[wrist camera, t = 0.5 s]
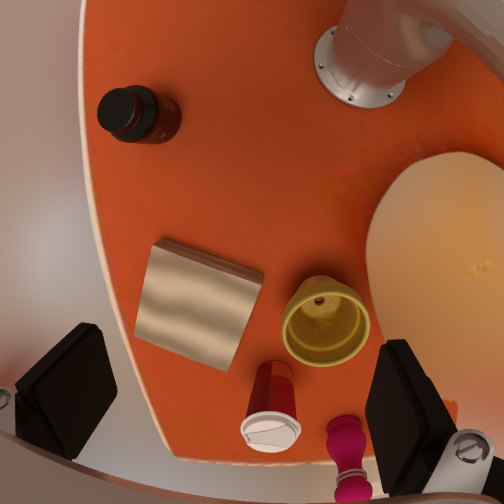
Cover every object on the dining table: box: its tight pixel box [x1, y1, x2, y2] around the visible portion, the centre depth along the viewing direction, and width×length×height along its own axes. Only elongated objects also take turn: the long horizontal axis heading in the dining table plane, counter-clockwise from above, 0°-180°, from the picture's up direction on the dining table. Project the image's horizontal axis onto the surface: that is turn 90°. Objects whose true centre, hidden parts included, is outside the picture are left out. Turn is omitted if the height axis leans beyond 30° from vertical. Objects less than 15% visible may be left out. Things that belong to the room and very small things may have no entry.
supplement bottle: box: [97, 85, 181, 144], centre depth 33 cm, size 7×7×12 cm
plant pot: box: [282, 275, 370, 367], centre depth 39 cm, size 10×10×10 cm
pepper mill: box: [326, 416, 373, 502], centre depth 41 cm, size 7×7×20 cm
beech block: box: [134, 238, 264, 372], centre depth 44 cm, size 15×15×4 cm
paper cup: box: [241, 360, 301, 452], centre depth 42 cm, size 8×8×14 cm
